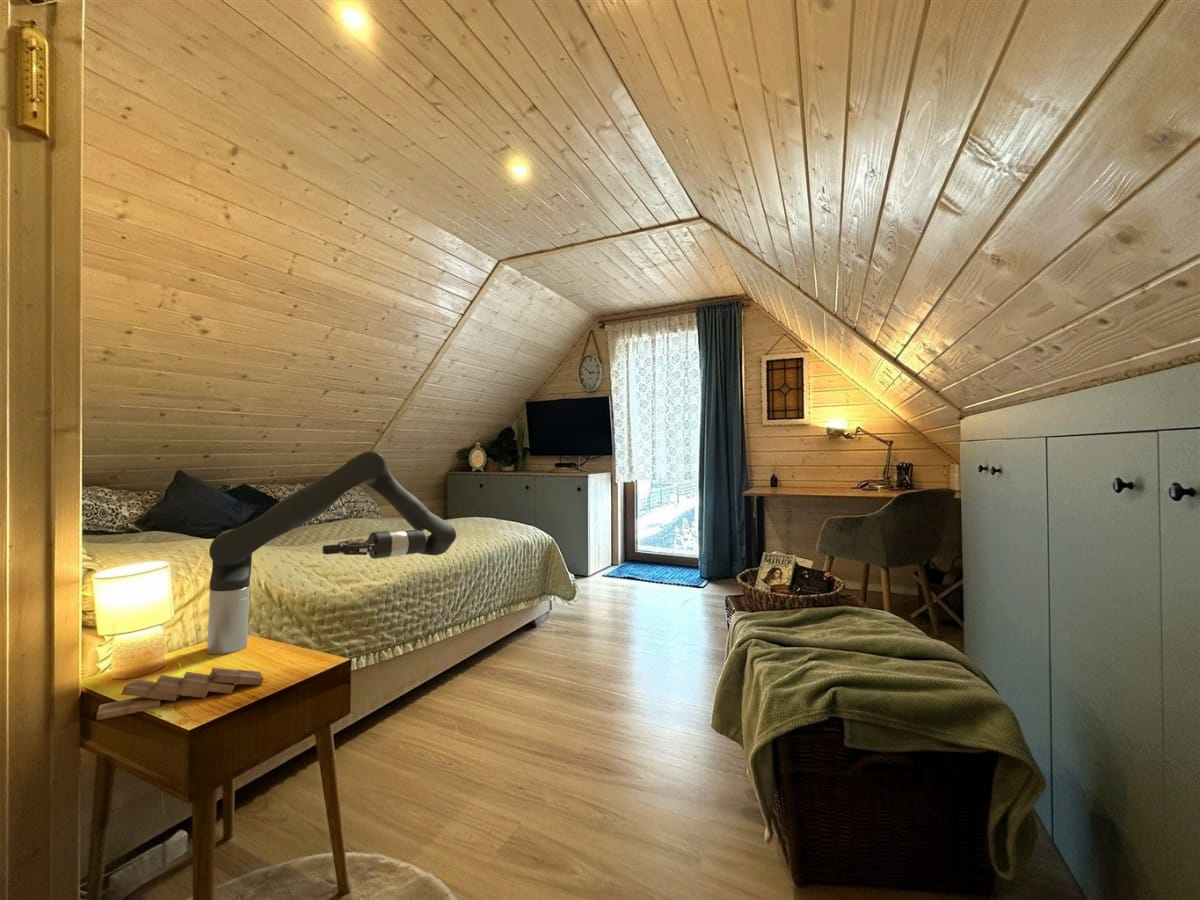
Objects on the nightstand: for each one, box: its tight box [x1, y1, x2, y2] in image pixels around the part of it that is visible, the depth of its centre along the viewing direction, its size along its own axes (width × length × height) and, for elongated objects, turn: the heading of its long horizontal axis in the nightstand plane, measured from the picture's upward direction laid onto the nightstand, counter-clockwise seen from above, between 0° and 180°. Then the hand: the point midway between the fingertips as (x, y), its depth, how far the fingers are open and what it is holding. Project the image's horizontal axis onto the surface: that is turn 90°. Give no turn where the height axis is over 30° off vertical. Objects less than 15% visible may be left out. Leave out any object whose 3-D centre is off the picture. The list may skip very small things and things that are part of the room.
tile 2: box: [180, 671, 236, 695], centre depth 121 cm, size 5×2×10 cm
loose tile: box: [209, 667, 264, 686], centre depth 125 cm, size 5×2×10 cm
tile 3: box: [152, 674, 209, 699], centre depth 118 cm, size 5×2×10 cm
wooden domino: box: [121, 678, 182, 702], centre depth 117 cm, size 5×2×10 cm
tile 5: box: [95, 697, 162, 721], centre depth 113 cm, size 5×2×10 cm
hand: (323, 550), depth 140 cm, fingers closed
